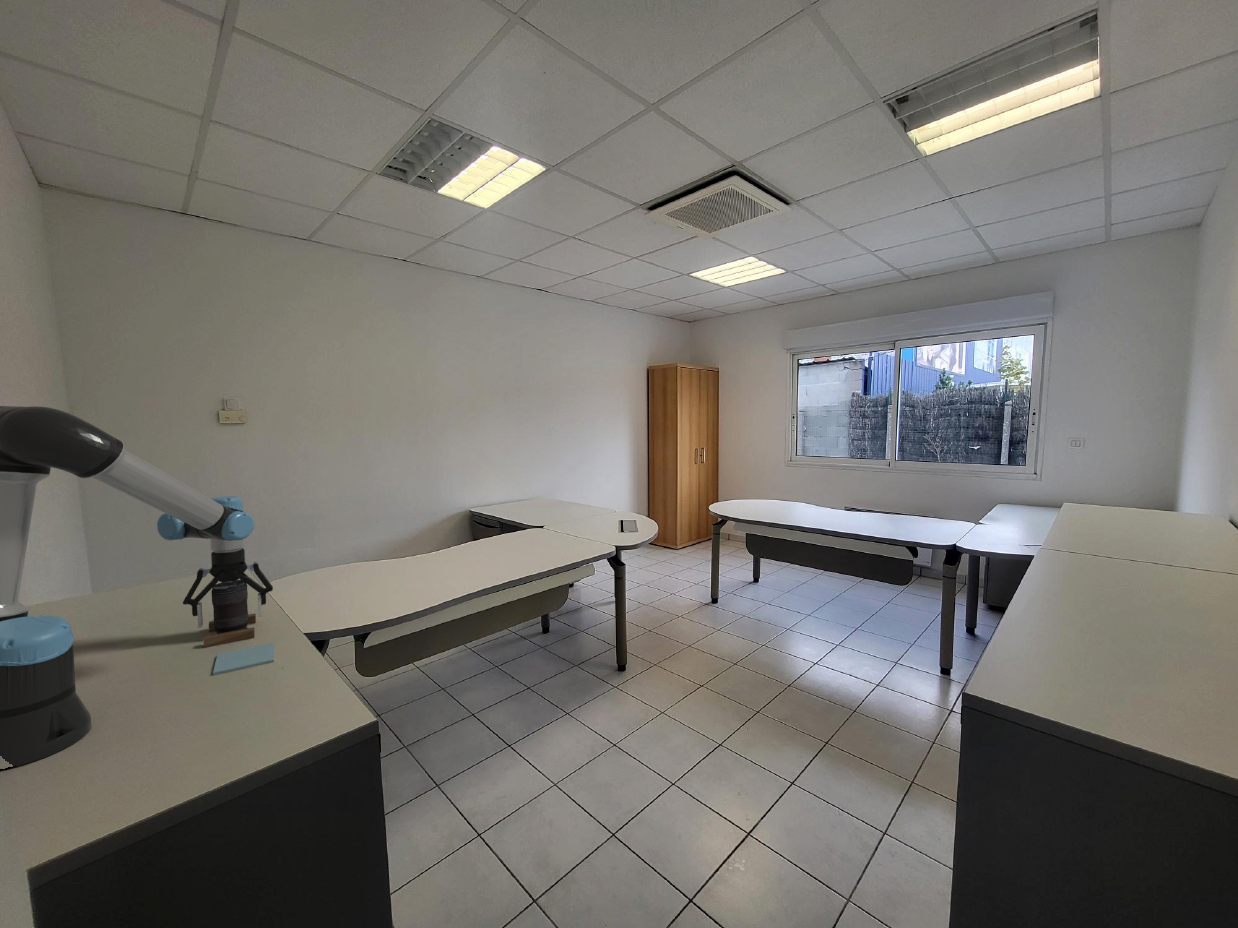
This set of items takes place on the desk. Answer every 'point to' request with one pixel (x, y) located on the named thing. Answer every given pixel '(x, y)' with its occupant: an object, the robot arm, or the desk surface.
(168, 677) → the desk surface
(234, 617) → the camera lens
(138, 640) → the desk surface
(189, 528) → the robot arm
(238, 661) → the mat
